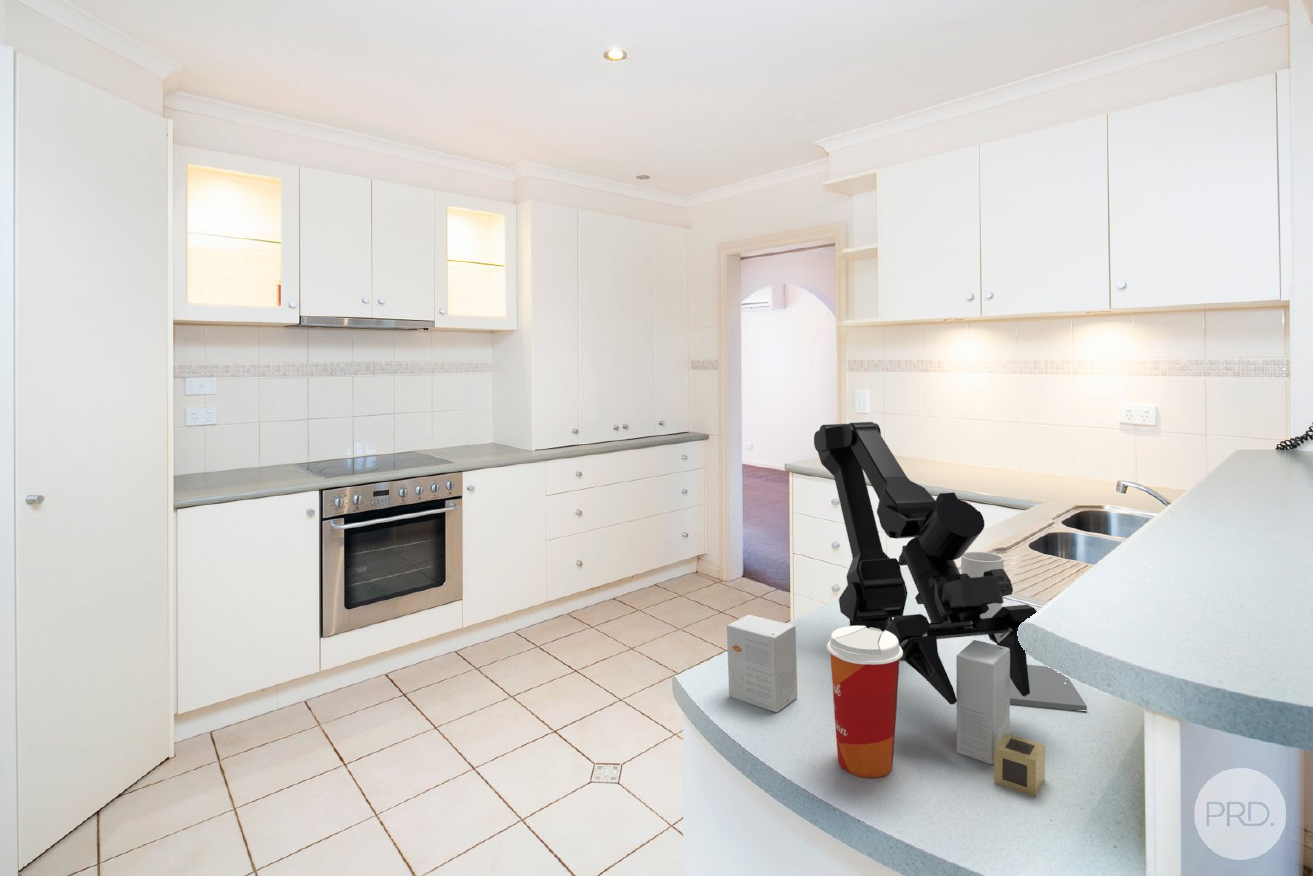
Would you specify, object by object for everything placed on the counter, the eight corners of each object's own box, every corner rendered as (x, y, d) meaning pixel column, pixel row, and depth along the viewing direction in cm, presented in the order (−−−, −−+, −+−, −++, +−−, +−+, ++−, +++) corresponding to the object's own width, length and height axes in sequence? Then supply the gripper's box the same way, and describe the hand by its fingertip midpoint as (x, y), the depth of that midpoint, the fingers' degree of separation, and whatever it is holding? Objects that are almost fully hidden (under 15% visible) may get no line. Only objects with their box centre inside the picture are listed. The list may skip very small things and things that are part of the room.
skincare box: (972, 732, 83) (973, 638, 82) (1010, 744, 80) (1011, 647, 79) (954, 753, 79) (955, 654, 78) (993, 766, 76) (994, 664, 75)
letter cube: (1035, 797, 70) (1036, 761, 70) (994, 783, 73) (994, 748, 73) (1044, 780, 73) (1045, 745, 73) (1004, 767, 76) (1005, 733, 76)
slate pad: (1086, 712, 87) (1086, 706, 87) (985, 701, 91) (985, 695, 91) (1061, 672, 99) (1061, 667, 99) (972, 665, 102) (972, 659, 102)
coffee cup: (845, 736, 83) (844, 618, 82) (913, 758, 78) (913, 633, 77) (815, 768, 77) (813, 640, 76) (886, 794, 72) (886, 658, 70)
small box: (798, 698, 93) (797, 625, 93) (776, 714, 89) (775, 637, 88) (750, 682, 99) (748, 613, 98) (727, 697, 95) (726, 624, 94)
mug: (1006, 631, 115) (1007, 562, 114) (963, 628, 117) (963, 560, 116) (996, 611, 125) (996, 548, 124) (956, 608, 127) (957, 546, 126)
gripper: (891, 551, 80) (944, 681, 70) (1033, 541, 83) (1103, 664, 73) (862, 595, 89) (905, 716, 79) (991, 584, 91) (1049, 700, 81)
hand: (990, 699), depth 78 cm, fingers open, 9 cm apart
